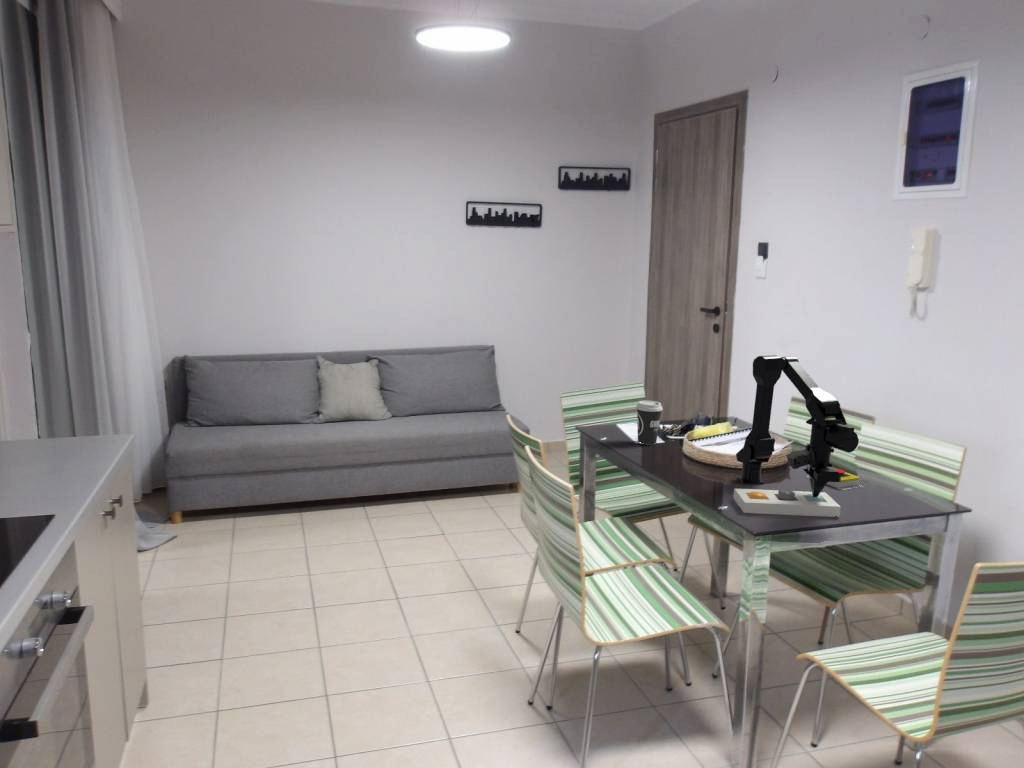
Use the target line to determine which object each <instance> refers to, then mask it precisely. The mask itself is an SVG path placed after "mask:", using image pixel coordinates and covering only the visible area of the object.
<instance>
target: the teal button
mask: <svg viewBox="0 0 1024 768" xmlns="http://www.w3.org/2000/svg"><path fill="white" fill-rule="evenodd" d="M806 500H807V501H811V502H823V497H822V496H820V495H818V497H813V495H812V494H808V495H807V498H806Z"/></svg>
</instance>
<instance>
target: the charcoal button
mask: <svg viewBox="0 0 1024 768" xmlns="http://www.w3.org/2000/svg"><path fill="white" fill-rule="evenodd" d="M793 491H794V490H788V489H779V491H778V499H779V500H788V501H794V497H795V493H794V492H793Z"/></svg>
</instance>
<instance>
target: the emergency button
mask: <svg viewBox="0 0 1024 768" xmlns="http://www.w3.org/2000/svg"><path fill="white" fill-rule="evenodd" d="M833 468H834V469H835V470H837V471H838V472H839V473H840V474H841V482H828V483H827V484H826V486H829V485H830V487H831V488H832V487H833V488H835V489H837V488H838V490H840V489H842V490H841V491H848V490H847V489H850V490H852V489H851V488H850V487H853V486H855V487H856V486H860V485H861V484H860V476H858V475H855V474H853V473H849V472H845V470H843V469H839V468H835V467H833ZM806 478H808V479H810V478H809V475H808V474H807V475H806ZM861 486H862V488H864V486H863V485H861ZM861 486H860V487H861ZM855 487H854V488H855ZM856 489H858V488H857V487H856Z"/></svg>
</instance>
